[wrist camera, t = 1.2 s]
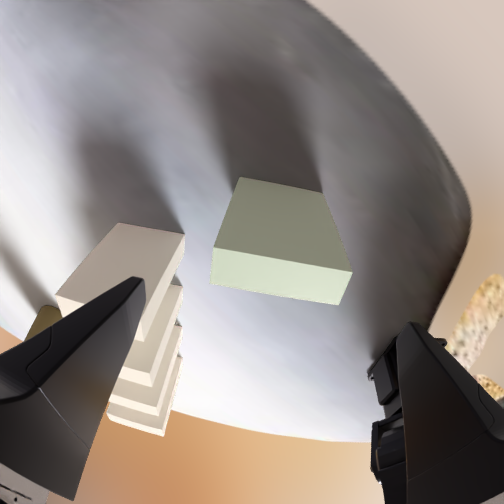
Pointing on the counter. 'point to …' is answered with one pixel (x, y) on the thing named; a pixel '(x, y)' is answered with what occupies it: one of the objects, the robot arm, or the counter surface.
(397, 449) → the robot arm
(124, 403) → the domino
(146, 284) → the domino
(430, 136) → the counter surface
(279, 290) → the sage domino
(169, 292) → the domino
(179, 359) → the domino
